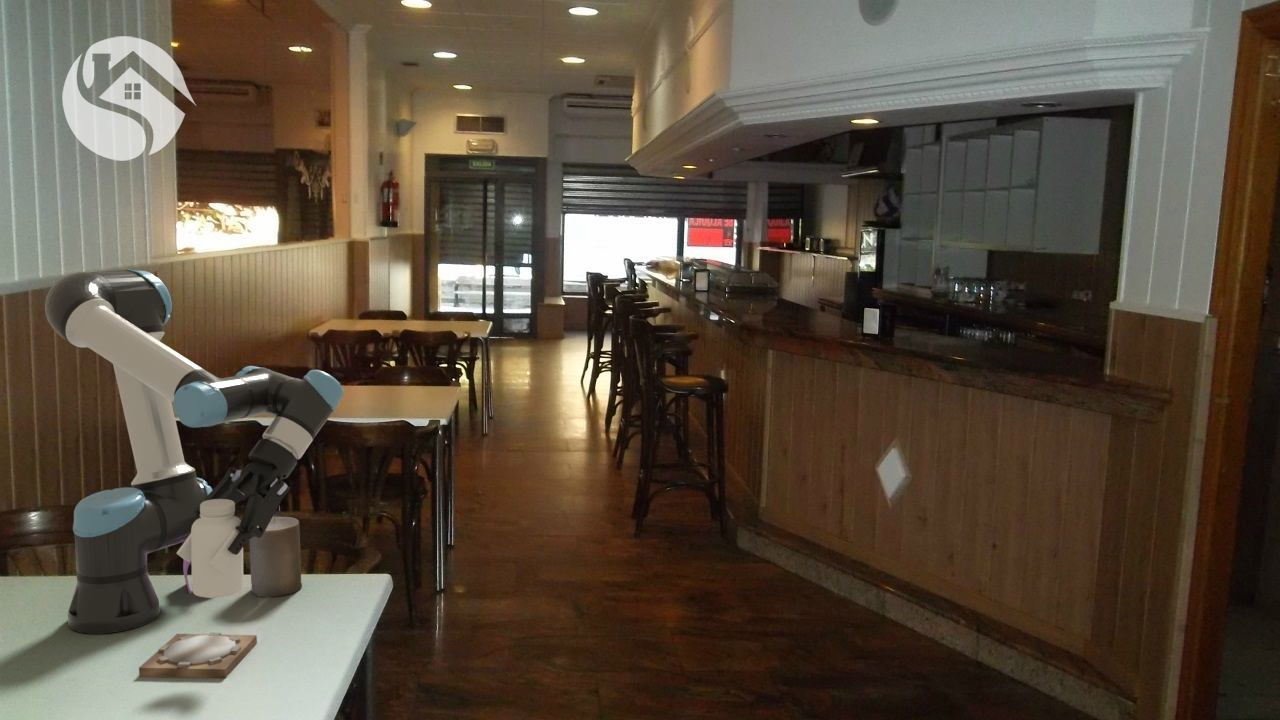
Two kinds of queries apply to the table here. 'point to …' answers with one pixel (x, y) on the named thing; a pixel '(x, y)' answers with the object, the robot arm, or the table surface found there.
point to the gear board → (198, 656)
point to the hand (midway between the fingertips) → (199, 563)
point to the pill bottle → (214, 550)
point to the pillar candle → (276, 559)
